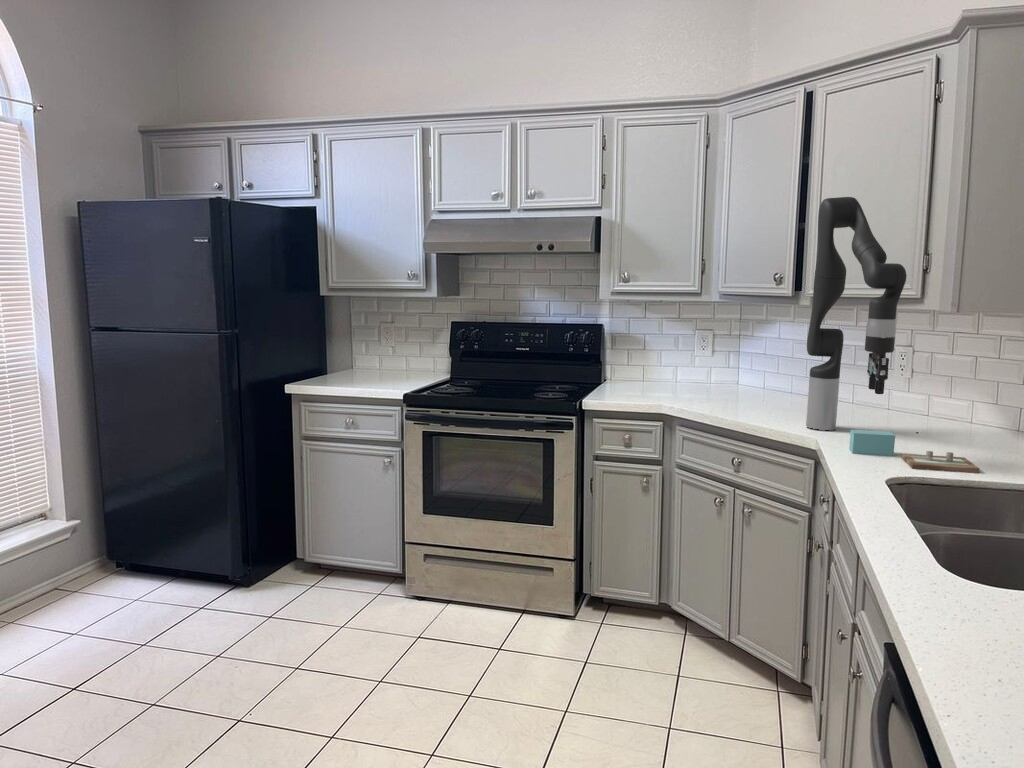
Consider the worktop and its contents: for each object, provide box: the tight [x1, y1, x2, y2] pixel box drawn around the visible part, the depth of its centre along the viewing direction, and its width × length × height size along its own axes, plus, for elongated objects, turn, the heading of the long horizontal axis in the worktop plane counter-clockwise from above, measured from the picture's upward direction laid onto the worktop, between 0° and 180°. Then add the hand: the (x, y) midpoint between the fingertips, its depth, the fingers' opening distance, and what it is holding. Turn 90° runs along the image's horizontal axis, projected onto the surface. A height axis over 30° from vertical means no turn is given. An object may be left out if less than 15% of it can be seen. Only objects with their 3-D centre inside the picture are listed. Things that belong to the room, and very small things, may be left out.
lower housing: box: [848, 429, 896, 457], centre depth 219 cm, size 5×11×6 cm, turn 76°
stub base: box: [900, 450, 980, 474], centre depth 206 cm, size 12×16×4 cm
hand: (875, 391), depth 216 cm, fingers open, 8 cm apart
